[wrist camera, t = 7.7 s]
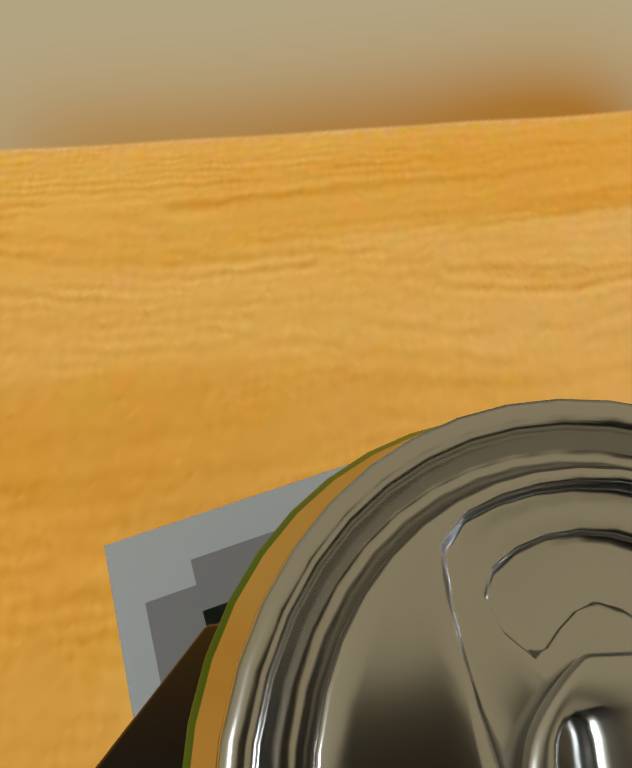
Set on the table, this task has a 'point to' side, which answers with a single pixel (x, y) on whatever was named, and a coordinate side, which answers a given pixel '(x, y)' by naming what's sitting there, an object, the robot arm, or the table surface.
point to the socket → (188, 578)
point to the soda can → (439, 607)
